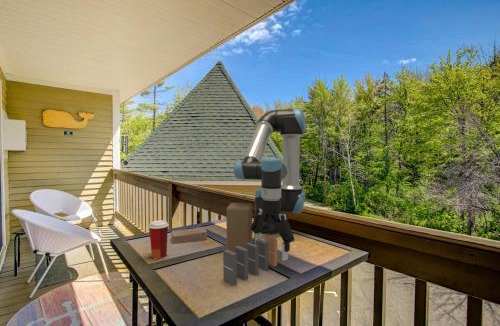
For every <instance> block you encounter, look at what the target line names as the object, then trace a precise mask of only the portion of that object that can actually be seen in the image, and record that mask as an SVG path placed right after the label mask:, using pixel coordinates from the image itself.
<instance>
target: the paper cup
mask: <svg viewBox="0 0 500 326" xmlns="http://www.w3.org/2000/svg"><path fill="white" fill-rule="evenodd" d="M169 225H170V224H169V223H168V221H167V220H163V219H162V220H154V221H151V222H150V223H149V224H148V228H149V239H150V250H151V251H150V252H151V258H152V259H153V258H156V259H155V260H161V259H160V258H162V259H165V258H166V257H167V252H168V249H167V248H168V235H169V234H168V232H169V231H168V228H169ZM164 257H165V258H164Z"/></svg>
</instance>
